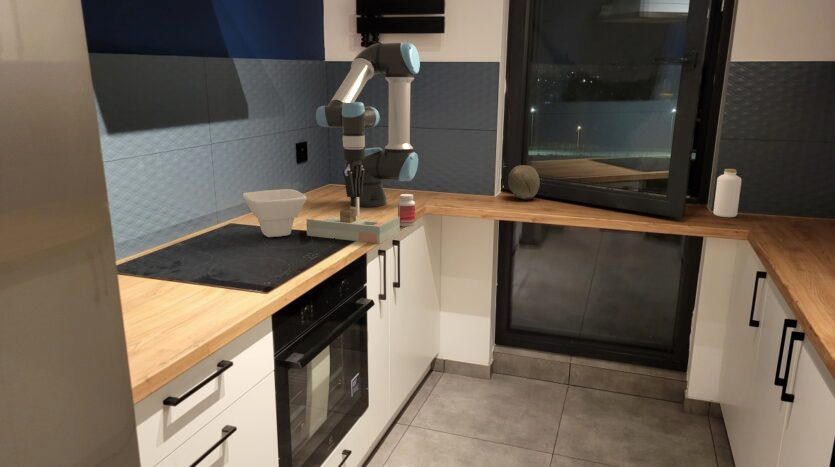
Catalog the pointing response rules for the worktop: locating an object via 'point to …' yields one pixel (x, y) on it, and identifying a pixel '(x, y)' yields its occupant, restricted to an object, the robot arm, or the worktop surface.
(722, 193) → the potion bottle
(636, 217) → the worktop surface
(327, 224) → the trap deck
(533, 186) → the cantaloupe
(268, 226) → the bowl
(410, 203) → the pill bottle
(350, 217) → the walnut block
